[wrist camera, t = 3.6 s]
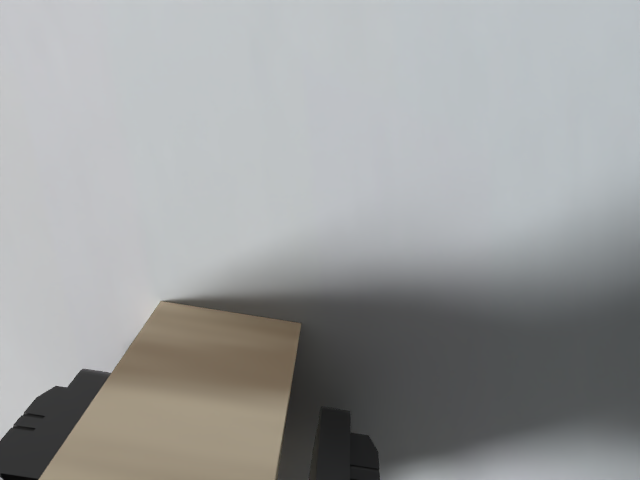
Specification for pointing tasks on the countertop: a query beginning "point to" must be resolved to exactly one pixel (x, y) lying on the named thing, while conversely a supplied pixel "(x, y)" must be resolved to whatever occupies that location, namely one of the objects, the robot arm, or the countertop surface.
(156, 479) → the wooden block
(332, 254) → the countertop surface
